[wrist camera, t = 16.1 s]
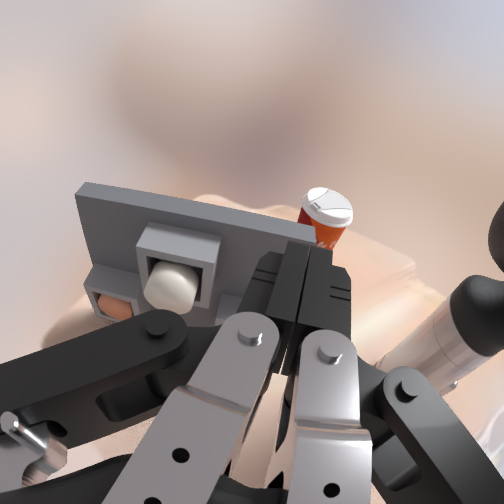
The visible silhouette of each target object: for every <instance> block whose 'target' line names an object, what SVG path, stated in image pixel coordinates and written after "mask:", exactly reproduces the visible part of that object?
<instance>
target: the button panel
mask: <svg viewBox="0 0 504 504" xmlns="http://www.w3.org/2000/svg"><path fill="white" fill-rule="evenodd" d="M75 199H76V203H77V208H78V212H79V216H80V220H81V224H82V228H83V232H84V236H85V239H86V243H87V247H88V250H89V253H90V257H91V260H92V264H93V268H92V269H91V271H90V273H89V275H88V277H87V279H86V280H85V282H84V284H83V285H84V287H85V290H86V292H87V295H88V297H89V300H90V302H91V304H92V307H93V309H94V311H95V313H96V316H98V317H101V318H104V319H107V320H111V321H114V322H117V323H118V322H120V321H123V320H118V319H115V318H113V317H111V316H109V315H107V314H106V313H105V312H103V311H102V310H101V309H100V307H99V306H98V300H99V298H100V296H101V294H103V295H107V296H110V297H114V298H117V299H121V300H125V301H128V302H131V305H132V309H133V313H132V316H131V317H134V316H136V315H139V314H142V313H144V312H147V311H150V310H155V309H157V308H155V307H153V306H152V305H151V304H150V303H149V302H148V301H147V300H146V298H145V296H144V289H145V287H146V284H147V282H148V279H149V277H150V275H151V272H152V270H153V268H154V265H155V264H156V263H157V262H158V261H160V260H163V259H164V260H168V261H172V262H177V263H182V264H186V265H189V266H191V267H192V268H193V269H194V270H195V271H196V272H197V274H198V276H199V284H198V288H197V291H196V295H195V299H194V302H193V306H192V309H191V310H190V311H189V312H187V313H185V314H178V315H180V316H181V317H182V318H183V319H184V321H185V323H186V325H187V327H213V326H218V325H221V324H223V323H224V322H225V320H226V319H227V318H229V317H230V316H232V315H234V314H236V312H237V310H238V308H239V305H240V303H241V301H242V298H243V296H244V294H245V291H246V289H247V287H248V285H249V282H250V280H251V278H252V275H253V273H254V271H255V268H256V266H257V264H258V261H259V259H260V258H261V257H262V256H264V255H265V254H266V253H268V252H269V251H272V252H276V253H281V254H284V253H285V249H286V246H287V243H288V240H291V241H295V242H300V243H304V244H309V245H310V246H309V251H308V256H309V252H310V248H311V245H313V246H315V245H316V234H315V227H313V226H309V225H305V224H301V223H296V222H292V221H288V220H283V219H279V218H274V217H270V216H265V215H261V214H256V213H251V212H247V211H242V210H237V209H232V208H227V207H223V206H218V205H213V204H208V203H203V202H198V201H192V200H187V199H181V198H177V197H171V196H165V195H160V194H155V193H149V192H143V191H138V190H132V189H126V188H120V187H114V186H108V185H102V184H96V183H89V182H85V183H84V184H83V185H82V187H81V188H80V189H79V190H78V191H77V192H76V193H75ZM307 260H308V257H307ZM306 264H307V262H306Z"/></svg>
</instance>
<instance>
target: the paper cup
mask: <svg viewBox="0 0 504 504" xmlns="http://www.w3.org/2000/svg"><path fill="white" fill-rule="evenodd" d="M301 203H302V208H301V212H300V215H299V218H298V222H297V223H301V224H305V225H309V226H313V227H315V234H316V245H315V246H318V247H322V248H326V249H331V250H332V249H333V248H334V246H335V245H336V243H337V241H338V240H339V238H340V236H341V235H342V233H343V231H344V230H345V228H346V226H348V225H349V224H350V223H351V222H352V218H353V217H352V213H353V210H352V207H351V204H350V203H349V202H348V200H347V199H345V197H343V196H342V195H341V194H339V193H337V192H335V191H332V190H330V189H327V188H313V189H311V190H310V191H308V193H307V194H306V195H304V196H303V198H302V201H301Z"/></svg>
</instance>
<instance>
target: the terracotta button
mask: <svg viewBox="0 0 504 504" xmlns="http://www.w3.org/2000/svg"><path fill="white" fill-rule="evenodd" d="M98 306H99V307H100V309H101V310H102V311H103V312H105V313H106V314H107V315H109V316H111V317H113V318H115V319H118V320H126V319H128V318H131V316H132V313H133V309H132V305H131V302H128V301H125V300H121V299H117V298H114V297H110V296H107V295H103V294H101V296H100V298H99V300H98Z"/></svg>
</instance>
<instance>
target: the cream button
mask: <svg viewBox="0 0 504 504" xmlns="http://www.w3.org/2000/svg"><path fill="white" fill-rule="evenodd" d="M198 284H199V276H198V274H197V272H196V271H195V270H194V269H193V268H192V267H191V266H189V265H186V264H182V263H177V262H172V261H168V260H164V259H163V260H160V261H158V262H157V263H156V264H155V265H154V268H153V270H152V272H151V275H150V277H149V279H148V282H147V284H146V287H145V289H144V296H145V298H146V300H147V301H148V302H149V303H150V304H151V305H152V306H153V307H155V308H157V309H165V310H170V311H173V312H175V313H177V314H185V313H187V312H189V311H190V310H191V309H192V306H193V302H194V299H195V295H196V291H197V288H198Z"/></svg>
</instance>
